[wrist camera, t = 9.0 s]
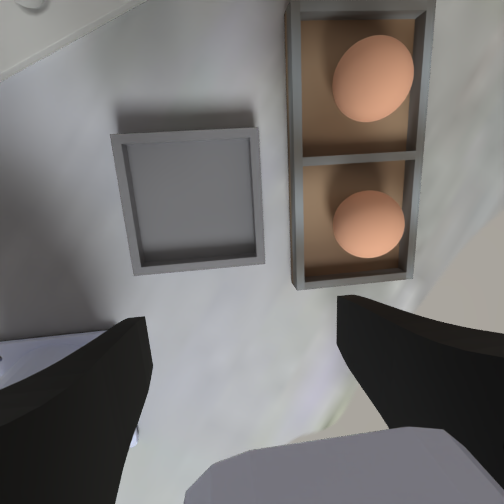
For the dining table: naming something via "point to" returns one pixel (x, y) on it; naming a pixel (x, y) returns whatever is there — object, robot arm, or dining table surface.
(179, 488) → the dining table surface
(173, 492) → the dining table surface
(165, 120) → the dining table surface
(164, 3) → the dining table surface
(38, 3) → the test tube rack
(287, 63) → the pair tray
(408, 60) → the ball
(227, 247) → the shallow grey square tray
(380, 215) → the terracotta ball
